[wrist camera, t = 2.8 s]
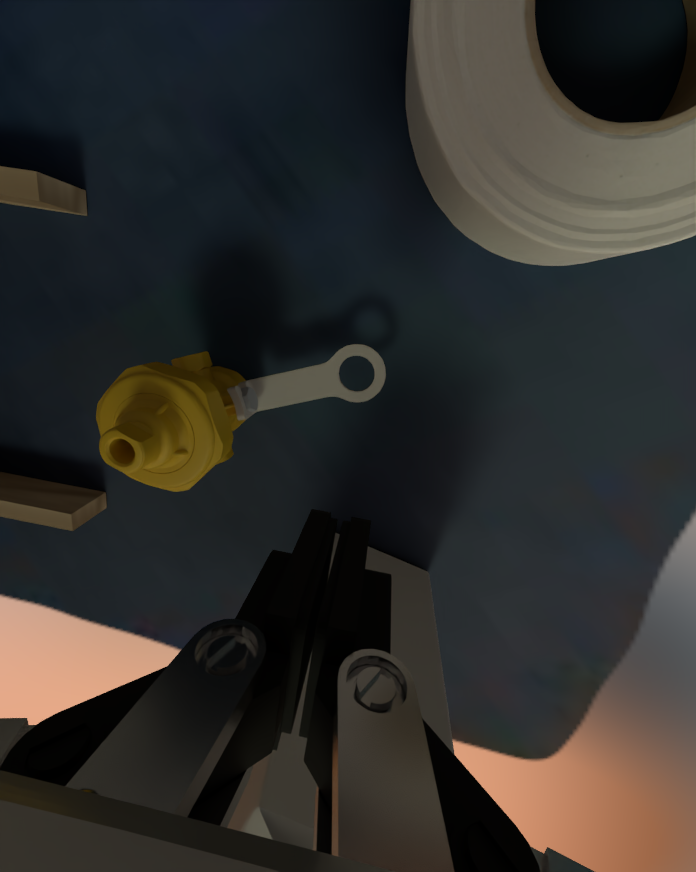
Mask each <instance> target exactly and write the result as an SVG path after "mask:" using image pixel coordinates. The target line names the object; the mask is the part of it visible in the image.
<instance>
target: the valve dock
mask: <svg viewBox="0 0 696 872" xmlns="http://www.w3.org/2000/svg"><path fill="white" fill-rule="evenodd" d="M0 203H7V204H13V205H20V206H26V207H33V208H39V209H46V210H52V211H59V212H66V213H72V214H79V215H85V216H87V203H86V191H85V190H83V189H80V188H78V187H75V186H73V185H70V184H67V183H65V182H62V181H60V180H57V179H54V178H52V177H49V176H47V175H44V174H42V173H39V172H36V171H30V170H23V169H16V168H9V167H2V166H0ZM105 508H107V503H106V492H102V491H97V490H91V489H86V488H81V487H76V486H71V485H66V484H60V483H55V482H50V481H45V480H40V479H35V478H30V477H24V476H19V475H14V474H9V473H4V472H0V516H1V517H6V518H11V519H16V520H21V521H26V522H31V523H36V524H41V525H46V526H51V527H56V528H61V529H66V530H71V531H74V530H75V529H76V528H78V527H79V526H81V525H82V524H84V523H85V522H87V521H88V520H89V519H91V518H92V517H94V516H95V515H97V514H98V513H99V512H101V511H102V510H104V509H105Z"/></svg>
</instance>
